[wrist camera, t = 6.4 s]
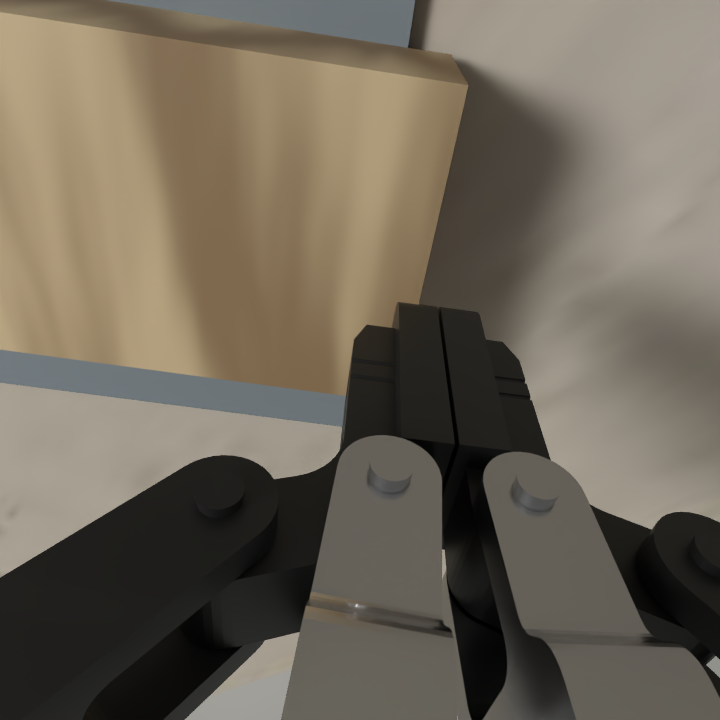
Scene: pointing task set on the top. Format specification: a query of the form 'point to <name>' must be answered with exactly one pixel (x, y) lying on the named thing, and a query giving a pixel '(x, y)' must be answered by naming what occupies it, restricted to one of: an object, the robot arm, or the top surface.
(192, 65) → the block
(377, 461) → the robot arm
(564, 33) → the top surface
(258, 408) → the mat
